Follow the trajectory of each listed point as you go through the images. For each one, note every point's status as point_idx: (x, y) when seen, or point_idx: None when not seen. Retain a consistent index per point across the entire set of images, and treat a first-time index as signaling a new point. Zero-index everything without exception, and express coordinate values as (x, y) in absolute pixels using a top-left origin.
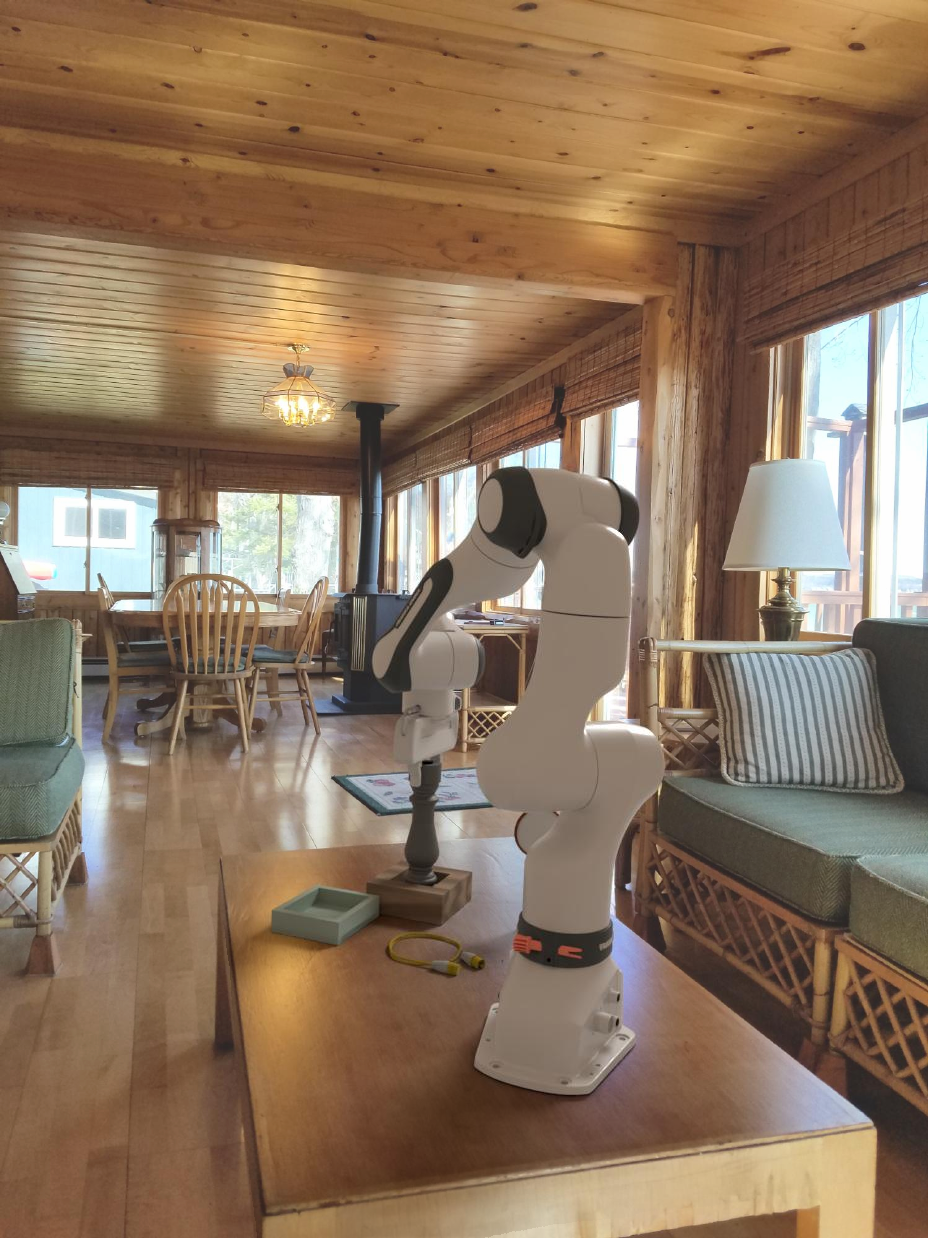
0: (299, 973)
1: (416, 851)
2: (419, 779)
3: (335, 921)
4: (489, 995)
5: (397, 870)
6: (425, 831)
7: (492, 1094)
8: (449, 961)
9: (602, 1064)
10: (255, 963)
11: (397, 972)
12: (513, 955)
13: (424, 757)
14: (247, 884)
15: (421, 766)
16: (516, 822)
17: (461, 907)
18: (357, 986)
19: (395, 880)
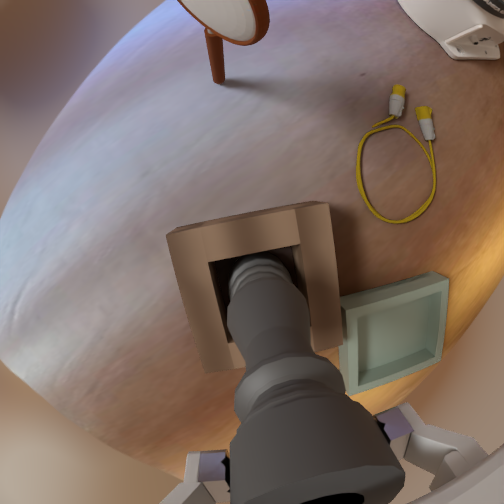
0: (484, 253)
1: (308, 311)
2: (420, 418)
3: (447, 285)
4: (433, 66)
5: None
6: (300, 322)
7: (501, 46)
8: (406, 129)
9: None
10: (480, 300)
11: (451, 171)
12: (492, 23)
13: (494, 465)
14: None
15: (446, 455)
16: (260, 12)
17: (224, 217)
18: (483, 189)
19: None
